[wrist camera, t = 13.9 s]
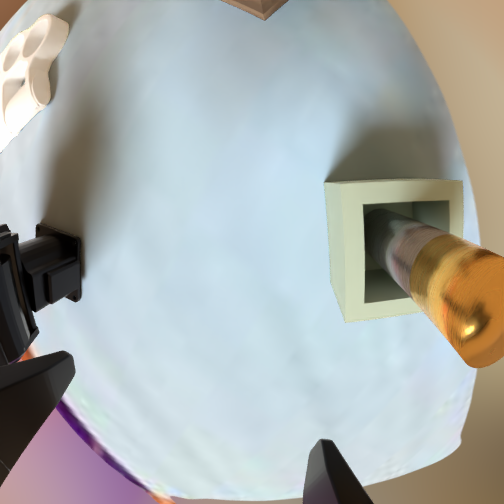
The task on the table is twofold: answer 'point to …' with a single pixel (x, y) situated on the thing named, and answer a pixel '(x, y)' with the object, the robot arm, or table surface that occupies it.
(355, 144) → the table surface
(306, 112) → the table surface
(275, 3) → the brown square open box
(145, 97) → the table surface
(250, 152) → the table surface
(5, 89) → the knuckle duster
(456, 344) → the gold and grey cylinder
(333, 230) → the cream square hollow block
